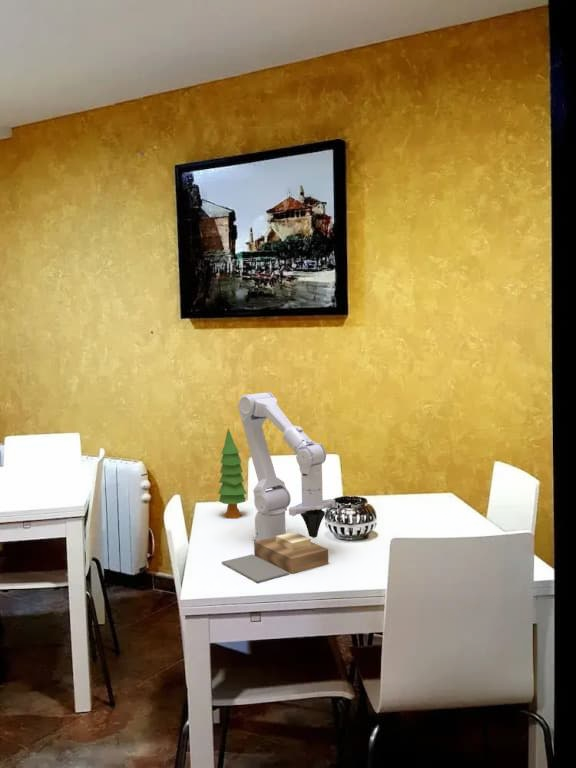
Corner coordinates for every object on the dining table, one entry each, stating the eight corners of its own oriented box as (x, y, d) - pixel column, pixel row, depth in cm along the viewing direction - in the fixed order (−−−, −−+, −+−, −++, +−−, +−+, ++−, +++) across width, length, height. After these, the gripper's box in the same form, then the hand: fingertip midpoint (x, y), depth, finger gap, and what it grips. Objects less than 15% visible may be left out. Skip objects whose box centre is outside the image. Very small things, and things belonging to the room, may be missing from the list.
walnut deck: (254, 555, 194) (254, 541, 194) (290, 546, 201) (289, 533, 201) (291, 573, 180) (291, 558, 179) (328, 563, 186) (328, 549, 186)
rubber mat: (221, 563, 189) (221, 561, 189) (252, 556, 194) (252, 554, 194) (257, 583, 174) (257, 581, 174) (289, 574, 179) (289, 572, 179)
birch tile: (276, 543, 192) (275, 535, 192) (293, 538, 196) (293, 531, 195) (292, 550, 186) (292, 543, 185) (310, 545, 189) (310, 538, 189)
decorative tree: (216, 519, 232) (213, 429, 229) (222, 511, 241) (219, 424, 238) (245, 519, 230) (242, 429, 227) (250, 511, 239) (248, 424, 237)
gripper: (299, 495, 186) (300, 545, 187) (341, 486, 194) (342, 534, 195) (284, 490, 191) (285, 538, 193) (326, 482, 200) (326, 529, 201)
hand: (313, 536), depth 194 cm, fingers closed
